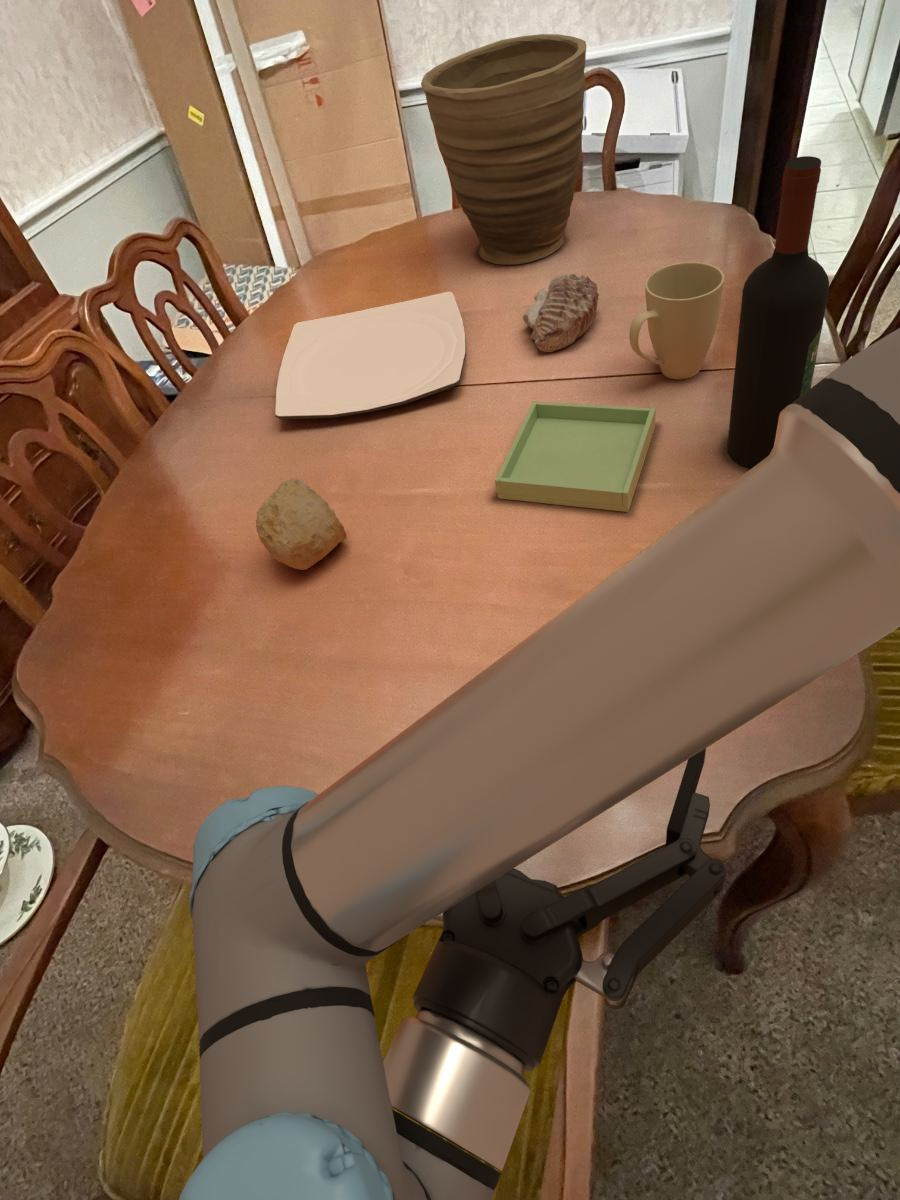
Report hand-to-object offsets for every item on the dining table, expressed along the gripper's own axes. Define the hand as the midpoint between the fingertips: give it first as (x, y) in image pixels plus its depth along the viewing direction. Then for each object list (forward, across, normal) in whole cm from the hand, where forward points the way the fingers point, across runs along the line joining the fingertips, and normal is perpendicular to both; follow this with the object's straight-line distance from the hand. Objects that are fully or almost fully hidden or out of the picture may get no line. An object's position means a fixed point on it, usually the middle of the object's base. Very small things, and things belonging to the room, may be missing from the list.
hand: (598, 719), depth 52 cm
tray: (+40, -17, -13) cm, 46 cm away
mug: (+60, -10, -13) cm, 62 cm away
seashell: (+68, -29, -13) cm, 76 cm away
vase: (+93, -45, -13) cm, 104 cm away
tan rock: (+18, -42, -13) cm, 48 cm away
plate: (+55, -54, -13) cm, 78 cm away
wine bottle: (+47, +3, -13) cm, 49 cm away
